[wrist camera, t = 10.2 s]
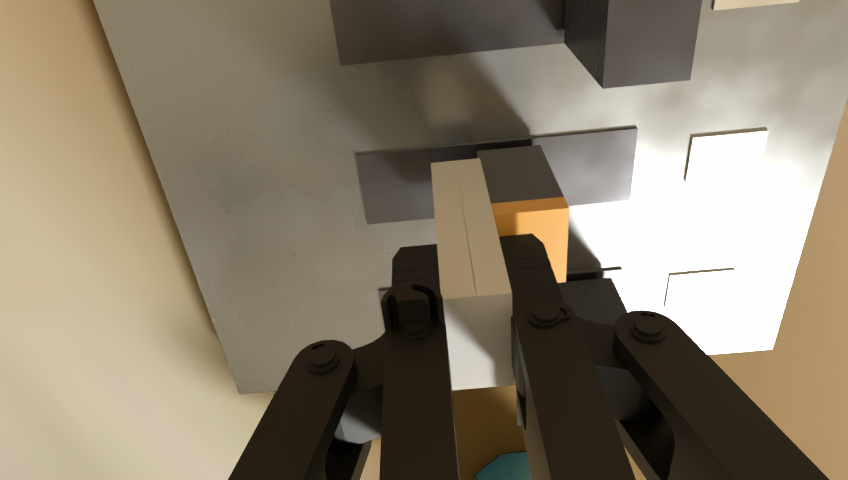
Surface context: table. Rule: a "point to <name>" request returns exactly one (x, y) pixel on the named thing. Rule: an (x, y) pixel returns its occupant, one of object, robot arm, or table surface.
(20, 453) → the table surface
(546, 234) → the block
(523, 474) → the cup
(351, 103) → the panel
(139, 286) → the table surface
